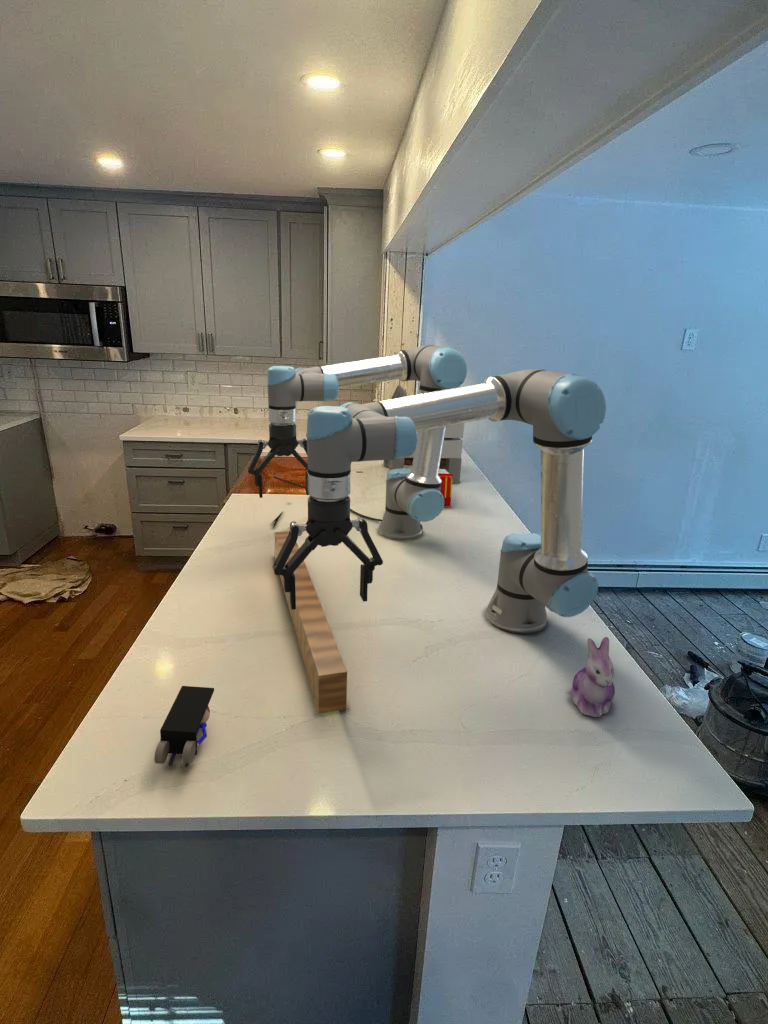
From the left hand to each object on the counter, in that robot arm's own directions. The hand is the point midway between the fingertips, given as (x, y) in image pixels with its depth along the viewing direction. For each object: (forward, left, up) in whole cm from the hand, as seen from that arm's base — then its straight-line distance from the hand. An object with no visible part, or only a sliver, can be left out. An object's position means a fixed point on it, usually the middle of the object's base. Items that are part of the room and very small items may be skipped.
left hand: (284, 495), depth 166 cm
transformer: (-50, +106, -22) cm, 119 cm away
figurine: (+94, +15, -22) cm, 98 cm away
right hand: (+60, -27, 0) cm, 66 cm away
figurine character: (+55, -54, -22) cm, 80 cm away
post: (+30, -13, -22) cm, 39 cm away
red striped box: (-21, +86, -22) cm, 91 cm away
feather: (-37, +20, -22) cm, 47 cm away
